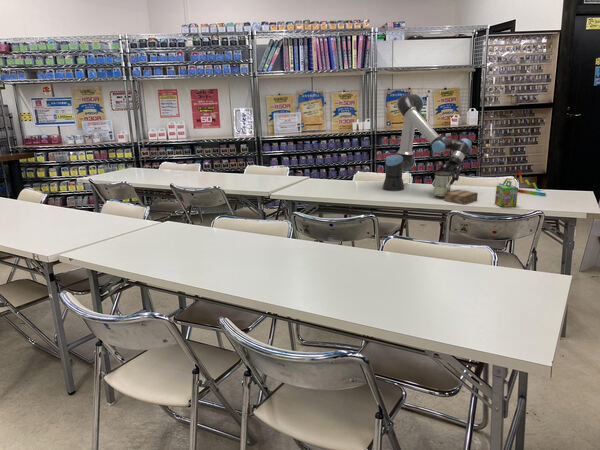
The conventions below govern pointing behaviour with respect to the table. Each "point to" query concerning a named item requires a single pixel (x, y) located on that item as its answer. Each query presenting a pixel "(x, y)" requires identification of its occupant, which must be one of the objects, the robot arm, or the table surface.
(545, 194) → the chart
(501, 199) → the colourful patterned gift box
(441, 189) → the coffee can
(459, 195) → the walnut block
